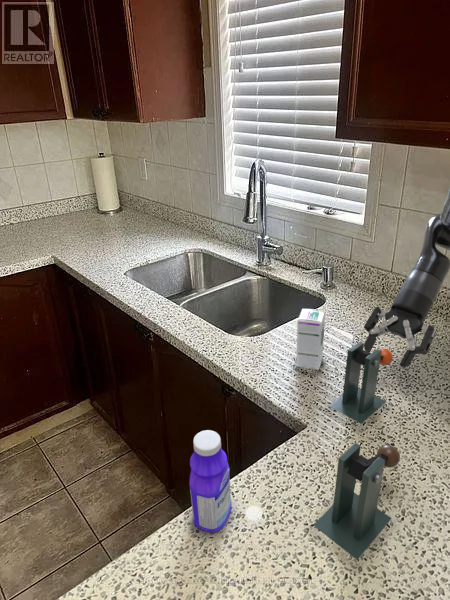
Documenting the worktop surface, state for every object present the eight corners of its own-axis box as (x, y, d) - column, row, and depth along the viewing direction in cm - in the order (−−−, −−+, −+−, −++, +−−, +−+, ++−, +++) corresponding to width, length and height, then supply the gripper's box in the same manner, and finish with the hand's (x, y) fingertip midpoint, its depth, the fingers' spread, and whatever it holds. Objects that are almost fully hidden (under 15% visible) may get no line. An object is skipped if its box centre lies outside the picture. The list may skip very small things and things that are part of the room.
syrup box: (319, 374, 108) (323, 321, 101) (294, 370, 109) (297, 318, 103) (322, 361, 113) (326, 310, 106) (299, 357, 114) (301, 307, 108)
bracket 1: (353, 389, 102) (360, 333, 96) (385, 405, 97) (395, 348, 90) (327, 410, 96) (333, 352, 90) (360, 428, 91) (368, 368, 84)
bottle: (221, 542, 70) (216, 461, 62) (187, 532, 72) (179, 451, 64) (236, 504, 76) (233, 426, 68) (205, 495, 78) (199, 418, 70)
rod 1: (377, 361, 101) (382, 346, 100) (392, 367, 98) (397, 352, 98) (349, 362, 91) (355, 346, 91) (365, 369, 89) (371, 353, 88)
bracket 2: (348, 493, 77) (356, 428, 70) (390, 523, 72) (404, 455, 65) (312, 530, 71) (318, 462, 64) (356, 565, 66) (367, 495, 59)
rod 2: (379, 457, 76) (386, 438, 75) (399, 469, 73) (406, 450, 73) (341, 473, 66) (349, 452, 66) (363, 488, 64) (371, 465, 63)
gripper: (383, 279, 102) (350, 341, 100) (446, 298, 92) (410, 367, 91) (392, 292, 107) (360, 351, 106) (452, 312, 98) (418, 377, 96)
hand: (383, 358), depth 98 cm, fingers open, 8 cm apart
